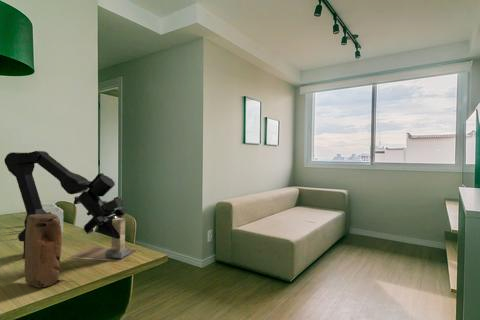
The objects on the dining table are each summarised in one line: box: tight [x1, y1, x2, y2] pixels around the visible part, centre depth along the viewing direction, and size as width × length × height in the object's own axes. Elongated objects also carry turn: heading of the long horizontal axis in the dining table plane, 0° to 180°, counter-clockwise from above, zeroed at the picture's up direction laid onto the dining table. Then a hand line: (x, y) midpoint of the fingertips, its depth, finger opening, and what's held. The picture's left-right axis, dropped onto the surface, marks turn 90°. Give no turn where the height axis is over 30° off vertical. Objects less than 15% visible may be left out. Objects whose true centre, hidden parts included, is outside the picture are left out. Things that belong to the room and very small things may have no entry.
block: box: [24, 213, 63, 289], centre depth 82 cm, size 11×8×20 cm
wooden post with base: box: [105, 217, 131, 258], centre depth 100 cm, size 6×6×13 cm
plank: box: [68, 246, 138, 263], centre depth 102 cm, size 20×12×2 cm, turn 84°
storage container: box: [41, 202, 64, 234], centre depth 138 cm, size 25×11×11 cm, turn 43°
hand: (122, 236), depth 99 cm, fingers closed on wooden post with base, 3 cm apart
